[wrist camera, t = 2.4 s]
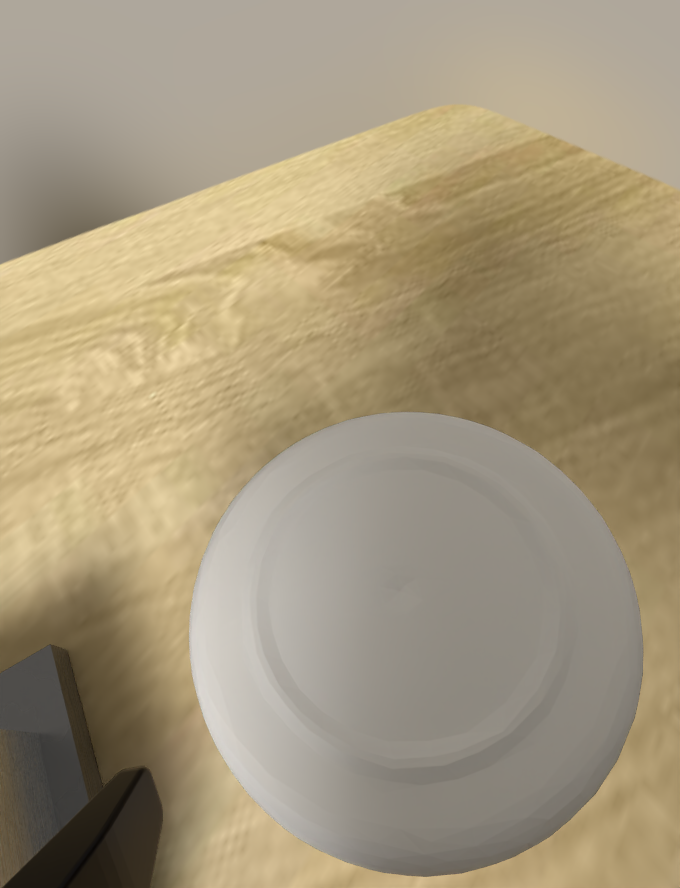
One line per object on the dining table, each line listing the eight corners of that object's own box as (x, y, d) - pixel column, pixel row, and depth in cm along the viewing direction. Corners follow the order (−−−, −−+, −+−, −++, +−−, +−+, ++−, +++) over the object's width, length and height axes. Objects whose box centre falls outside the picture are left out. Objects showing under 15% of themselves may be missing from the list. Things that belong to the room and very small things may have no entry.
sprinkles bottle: (362, 623, 18) (260, 375, 7) (500, 655, 17) (651, 422, 6) (327, 776, 16) (91, 787, 5) (483, 823, 15) (675, 992, 4)
